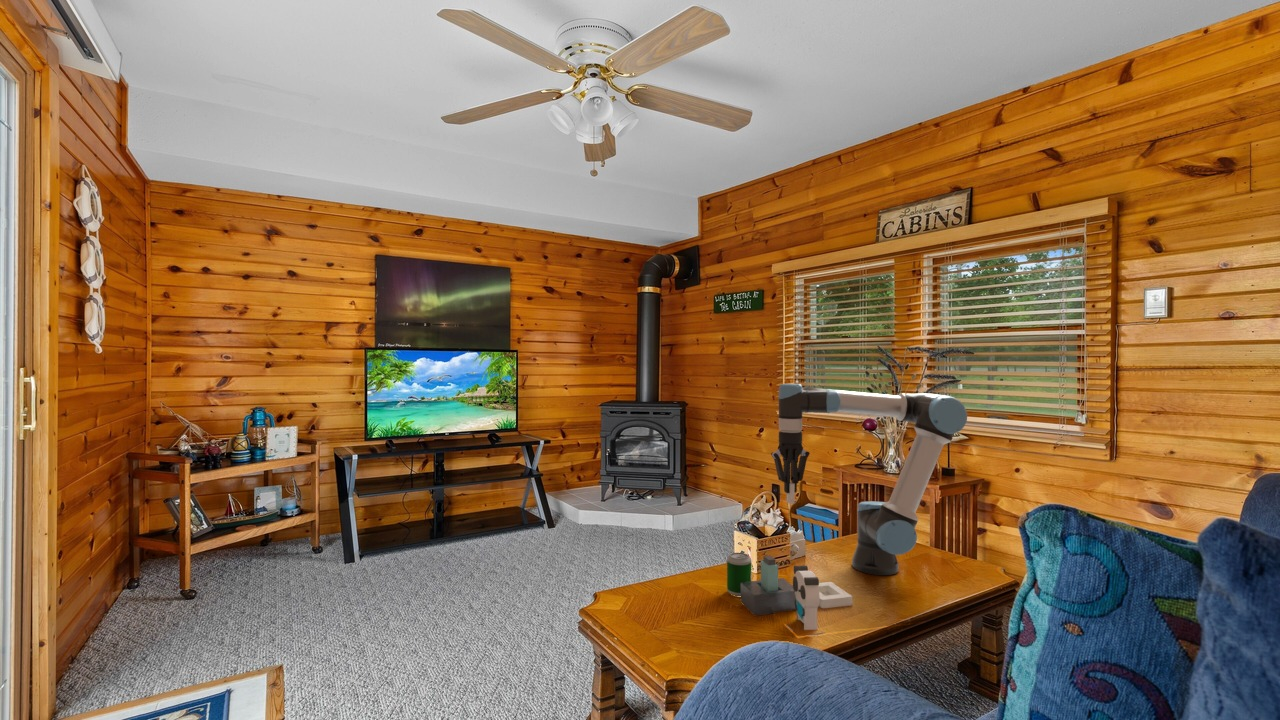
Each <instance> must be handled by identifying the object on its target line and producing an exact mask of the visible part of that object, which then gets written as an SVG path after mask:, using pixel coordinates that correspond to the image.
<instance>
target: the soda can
mask: <svg viewBox="0 0 1280 720" xmlns="http://www.w3.org/2000/svg"><path fill="white" fill-rule="evenodd" d="M748 581H752V558H751V557H750V556H749V555H748V553H743V552H733V553H730V554H729V556H728V557H726V590H727V592H728V594H729V595H730V594H732V595H735V596H741V582H748ZM732 595H731V596H732Z"/></svg>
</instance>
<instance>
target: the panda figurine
mask: <svg viewBox="0 0 1280 720" xmlns="http://www.w3.org/2000/svg"><path fill="white" fill-rule="evenodd" d="M793 574H794V576H793V578H792V586H793V589H794V591H795V596H796V600H795V608H796V610H795V611H796V621H801V622H802V624H803V630H804V631H808V630H809V631H812V630H813V631H814V630H818V608H819V607H820V606H819V586H818V585H819V583H820V580H819V577H817V576H816V574H815V573H814V572H813V571H812V570H809V568H808V565H794V566H793ZM796 602H797V603H796ZM785 625H786V626H785V627H787V628H788V629H789V631H792V632H794V630H793V629H792V628H791V627H790V626H789V625H787V623H786V624H785ZM823 634H825V632H820V633H819V632H818V633H811V634H808V636H819V635H823Z"/></svg>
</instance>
